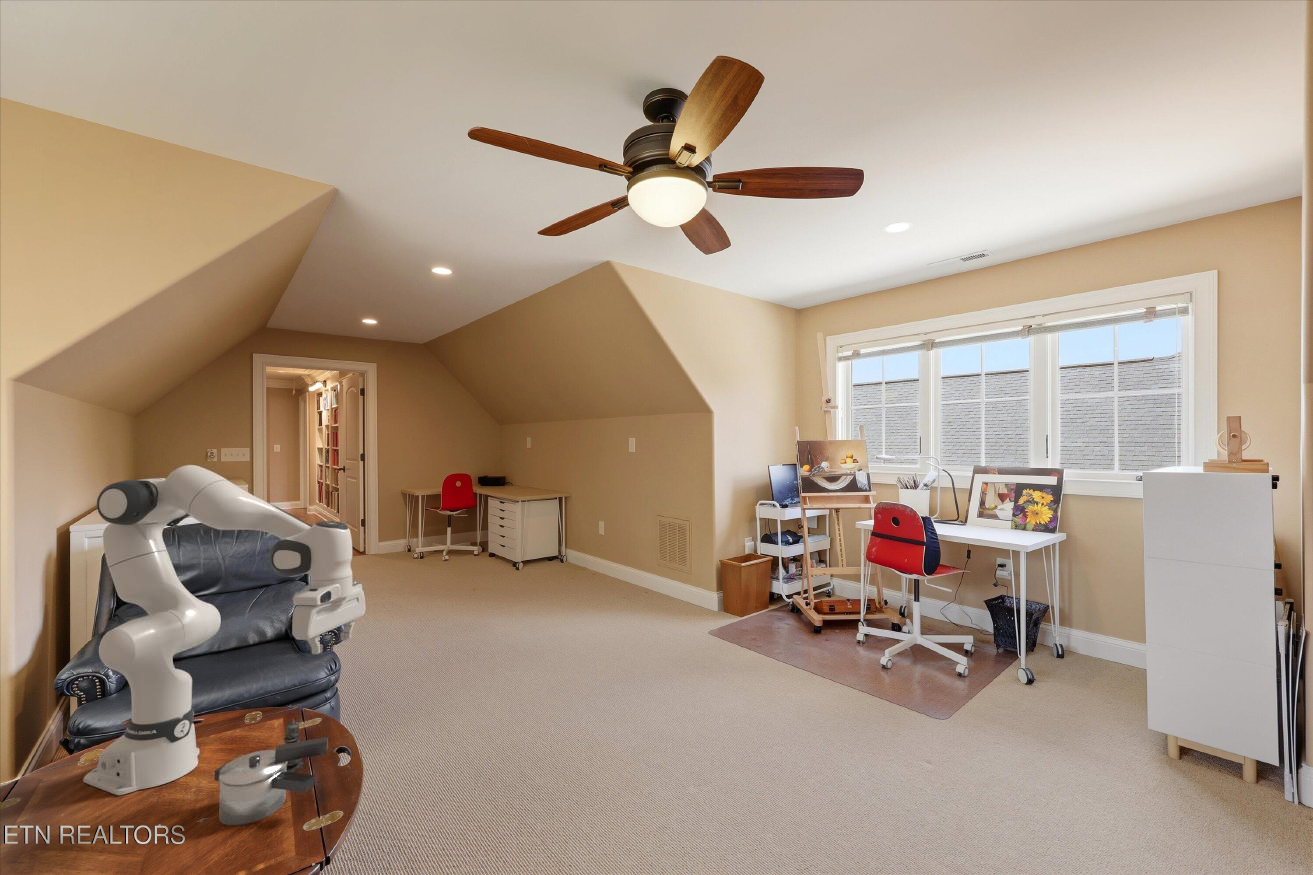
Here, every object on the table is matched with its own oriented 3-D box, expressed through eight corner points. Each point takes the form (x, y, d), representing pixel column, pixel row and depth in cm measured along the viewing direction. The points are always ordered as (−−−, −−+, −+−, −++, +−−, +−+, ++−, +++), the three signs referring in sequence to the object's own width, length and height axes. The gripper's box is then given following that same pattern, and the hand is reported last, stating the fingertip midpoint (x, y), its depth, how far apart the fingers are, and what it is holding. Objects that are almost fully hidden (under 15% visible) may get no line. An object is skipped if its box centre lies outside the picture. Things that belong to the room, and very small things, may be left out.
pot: (193, 819, 121) (194, 781, 121) (242, 786, 133) (243, 751, 133) (286, 833, 117) (287, 794, 118) (329, 797, 129) (330, 762, 129)
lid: (211, 791, 117) (212, 773, 118) (227, 761, 129) (227, 744, 129) (324, 769, 126) (324, 752, 126) (329, 742, 137) (329, 726, 137)
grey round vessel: (291, 775, 138) (293, 725, 138) (271, 772, 139) (272, 723, 139) (311, 762, 143) (312, 714, 144) (291, 759, 145) (292, 712, 145)
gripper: (350, 578, 148) (350, 631, 148) (286, 599, 128) (286, 660, 128) (372, 579, 147) (372, 632, 147) (311, 600, 127) (311, 662, 127)
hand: (332, 646), depth 137 cm, fingers open, 8 cm apart
